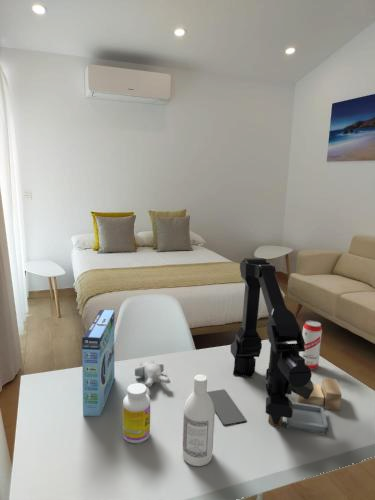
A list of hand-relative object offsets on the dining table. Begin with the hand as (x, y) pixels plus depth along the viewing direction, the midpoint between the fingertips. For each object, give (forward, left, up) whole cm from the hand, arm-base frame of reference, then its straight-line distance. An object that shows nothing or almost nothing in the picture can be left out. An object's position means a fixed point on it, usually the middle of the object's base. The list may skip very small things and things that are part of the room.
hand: (275, 418), depth 97 cm
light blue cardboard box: (-50, -1, -1) cm, 50 cm away
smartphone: (-14, +3, -2) cm, 14 cm away
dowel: (0, 0, -1) cm, 1 cm away
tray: (+8, +3, -1) cm, 9 cm away
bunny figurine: (-38, +11, -1) cm, 40 cm away
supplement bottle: (-34, -14, -1) cm, 37 cm away
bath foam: (-18, -17, -1) cm, 25 cm away
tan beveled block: (+10, +14, -1) cm, 18 cm away
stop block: (+16, +14, -1) cm, 21 cm away
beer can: (+12, +34, -1) cm, 36 cm away
